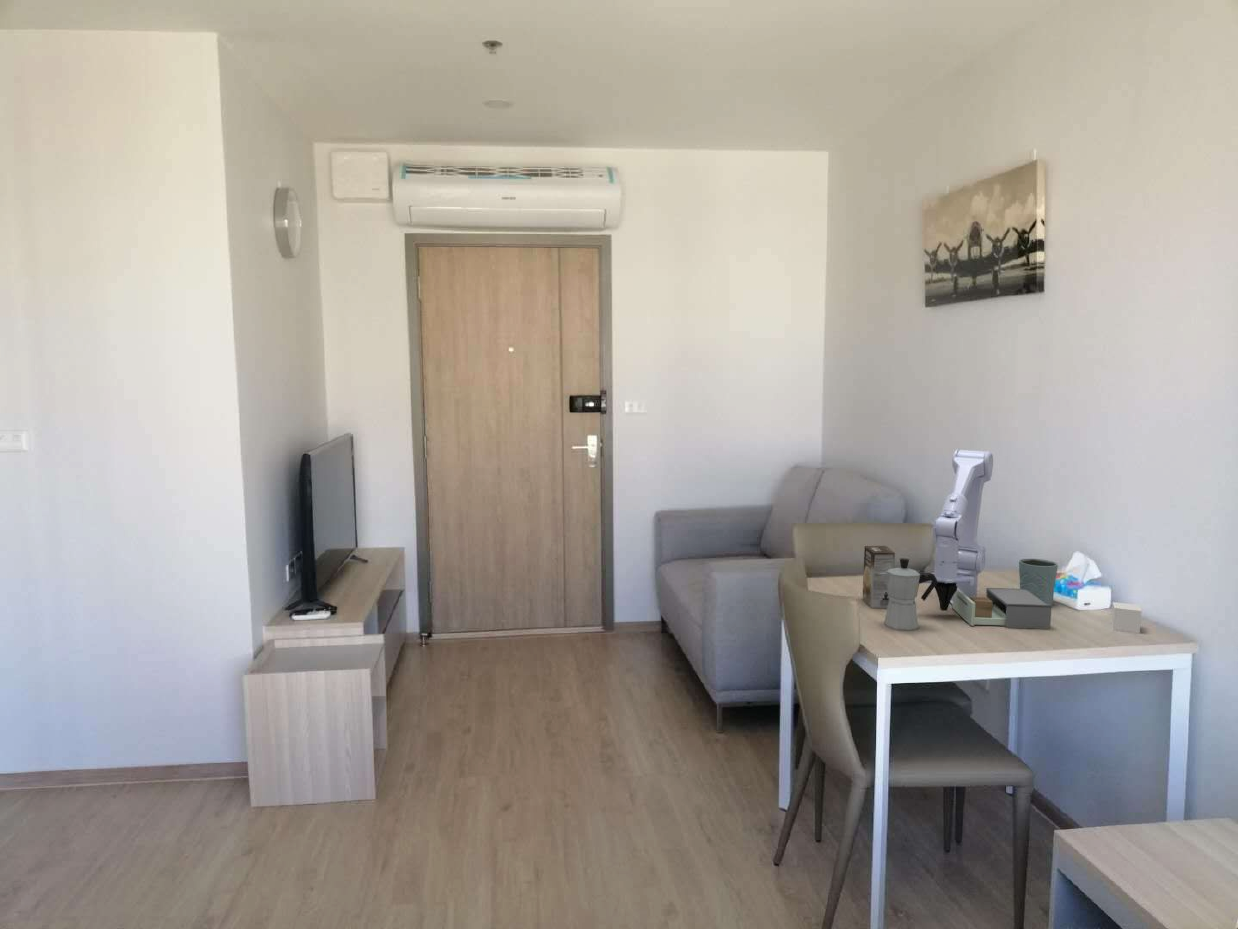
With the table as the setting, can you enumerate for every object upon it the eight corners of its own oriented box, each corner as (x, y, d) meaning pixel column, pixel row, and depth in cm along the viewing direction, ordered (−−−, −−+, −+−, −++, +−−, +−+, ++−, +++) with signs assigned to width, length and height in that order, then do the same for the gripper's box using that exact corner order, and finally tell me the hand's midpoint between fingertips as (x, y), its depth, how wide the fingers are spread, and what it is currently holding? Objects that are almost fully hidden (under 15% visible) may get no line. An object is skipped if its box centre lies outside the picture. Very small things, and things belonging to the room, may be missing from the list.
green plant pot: (1027, 607, 236) (1030, 566, 235) (1009, 597, 246) (1012, 558, 245) (1062, 607, 236) (1065, 566, 235) (1043, 597, 246) (1046, 557, 245)
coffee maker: (879, 629, 216) (882, 561, 214) (873, 619, 225) (876, 554, 223) (939, 632, 214) (942, 564, 212) (931, 622, 223) (934, 556, 221)
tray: (951, 607, 235) (953, 587, 234) (992, 609, 234) (994, 588, 233) (970, 625, 219) (971, 603, 218) (1014, 627, 218) (1015, 604, 217)
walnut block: (968, 612, 229) (969, 596, 228) (985, 612, 228) (986, 596, 228) (973, 617, 224) (974, 601, 224) (991, 618, 224) (992, 601, 223)
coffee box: (861, 599, 244) (863, 545, 242) (883, 599, 244) (885, 545, 242) (870, 608, 235) (873, 552, 233) (893, 608, 235) (896, 552, 233)
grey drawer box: (985, 609, 234) (986, 587, 233) (1026, 611, 233) (1027, 589, 232) (1006, 627, 218) (1007, 604, 217) (1050, 629, 217) (1051, 605, 216)
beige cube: (1137, 627, 220) (1139, 605, 219) (1139, 633, 214) (1141, 611, 213) (1110, 623, 222) (1112, 601, 221) (1112, 630, 217) (1114, 607, 216)
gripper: (922, 563, 223) (920, 613, 224) (979, 565, 221) (976, 614, 223) (915, 557, 230) (913, 605, 231) (970, 559, 228) (967, 607, 230)
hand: (943, 609), depth 227 cm, fingers closed
